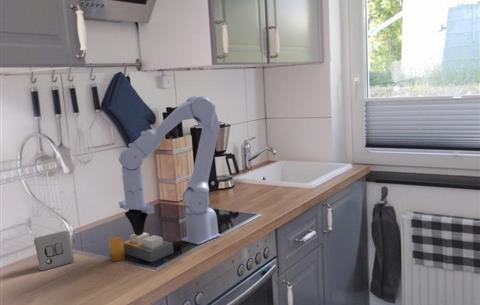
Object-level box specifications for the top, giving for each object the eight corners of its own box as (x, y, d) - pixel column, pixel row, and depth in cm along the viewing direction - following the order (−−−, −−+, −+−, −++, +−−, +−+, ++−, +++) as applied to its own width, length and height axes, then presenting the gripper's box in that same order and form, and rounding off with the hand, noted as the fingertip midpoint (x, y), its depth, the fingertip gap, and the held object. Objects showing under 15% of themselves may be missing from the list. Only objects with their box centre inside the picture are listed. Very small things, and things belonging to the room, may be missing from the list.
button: (155, 244, 134) (154, 235, 133) (163, 247, 131) (162, 237, 130) (144, 249, 131) (142, 239, 130) (152, 251, 128) (151, 241, 127)
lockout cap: (120, 255, 133) (117, 235, 132) (128, 257, 131) (125, 237, 130) (108, 259, 130) (105, 239, 129) (116, 262, 128) (113, 241, 127)
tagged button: (142, 241, 138) (141, 231, 137) (150, 243, 135) (149, 233, 135) (131, 245, 135) (129, 235, 134) (139, 247, 132) (137, 237, 132)
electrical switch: (40, 272, 125) (34, 239, 125) (37, 268, 130) (31, 236, 129) (75, 262, 130) (69, 231, 130) (70, 259, 135) (65, 228, 134)
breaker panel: (144, 244, 141) (143, 234, 140) (173, 252, 131) (172, 242, 131) (122, 252, 135) (121, 242, 134) (151, 262, 126) (150, 251, 125)
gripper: (108, 189, 134) (113, 233, 136) (137, 195, 125) (142, 242, 127) (128, 184, 140) (133, 227, 142) (157, 189, 130) (162, 234, 132)
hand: (139, 234), depth 135 cm, fingers closed
